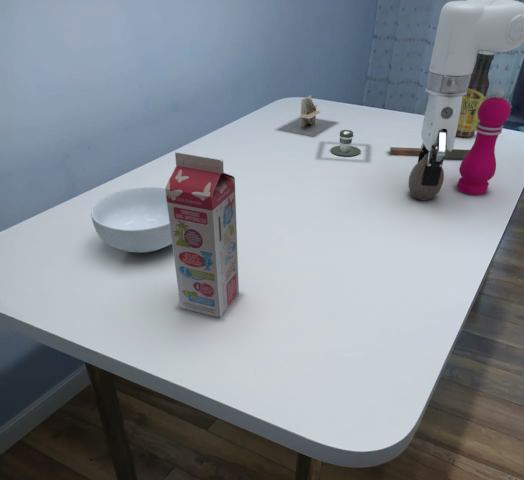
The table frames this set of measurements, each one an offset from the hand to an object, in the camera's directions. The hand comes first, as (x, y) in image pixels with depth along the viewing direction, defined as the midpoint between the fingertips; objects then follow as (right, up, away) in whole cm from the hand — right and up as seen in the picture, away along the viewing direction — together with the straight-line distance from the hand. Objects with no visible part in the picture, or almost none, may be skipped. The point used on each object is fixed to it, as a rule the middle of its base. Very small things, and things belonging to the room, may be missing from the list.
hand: (426, 177), depth 103 cm
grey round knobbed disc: (-13, +15, +24) cm, 31 cm away
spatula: (+9, +13, +22) cm, 27 cm away
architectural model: (-21, +28, +39) cm, 53 cm away
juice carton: (-42, -29, -27) cm, 58 cm away
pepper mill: (+12, -1, +6) cm, 13 cm away
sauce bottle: (+21, +23, +34) cm, 46 cm away
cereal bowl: (-55, -16, -13) cm, 59 cm away
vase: (0, -3, +3) cm, 4 cm away
